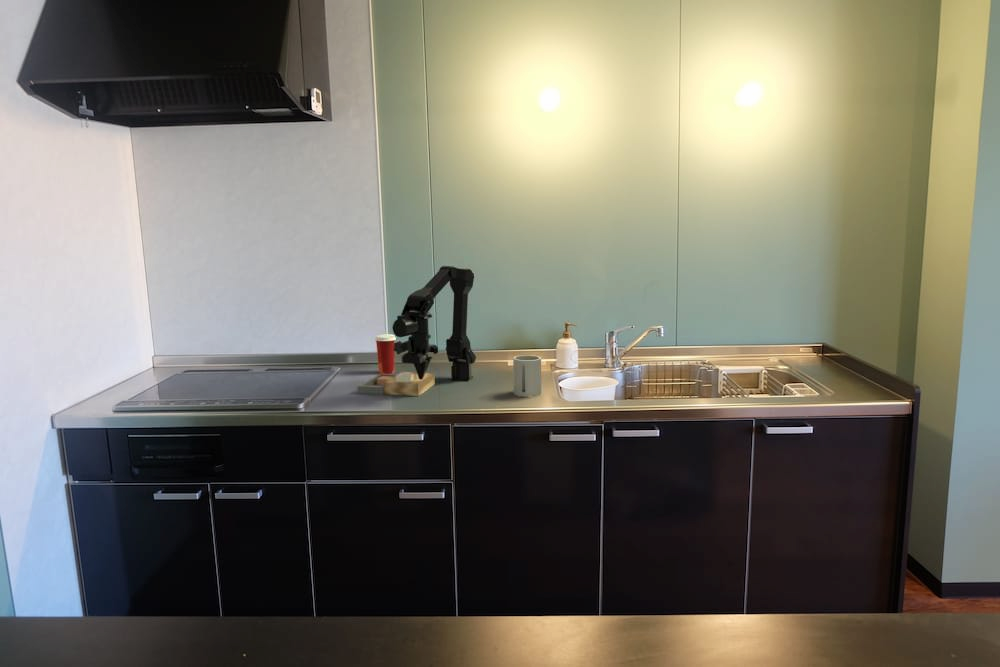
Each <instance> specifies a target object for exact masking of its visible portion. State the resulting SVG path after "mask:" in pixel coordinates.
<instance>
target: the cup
mask: <svg viewBox="0 0 1000 667" xmlns="http://www.w3.org/2000/svg"><path fill="white" fill-rule="evenodd" d="M512 364H513V366H512V370H513V373H512V374H513V375H512V376H513V377H512V378H513V379H512V380H513V382H512V385H513V386H512V387H513V388H512V389H513V390H512V393H514V394H515V395H514V394H513V395H514V396H516V395H518V396H517V397H520V396H526V397H525V398H528V397H527V396H535V397H538V396H537V395H539V396H540V394H542V357H541V356H538V355H531V354H530V355H529V354H526V355H525V354H524V355H522V354H521V355H516V356H513V359H512ZM522 390H525V391H522Z"/></svg>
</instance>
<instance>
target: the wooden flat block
mask: <svg viewBox="0 0 1000 667" xmlns="http://www.w3.org/2000/svg"><path fill="white" fill-rule="evenodd" d="M400 373H409V374H414V380H412V381H411V382H409V383H405V382H396V376H397V375H399V374H400ZM395 375H396V376H394V377H392V378H390V379H389V380H387V381H385V382H384V395H393V396H394V395H395V396H396V395H397V396H411V397H413V396H414V397H420V396H421V395H422V394H423V393H425V392H426V391H427V390H429V389H431V388H432V387H433V386H434V385H435V379H436V378H435V376H436V375H435V372H426V373H425V375H424V378H423V379H419V377H418V374H417V371H416V372H415V371H401V372H399V373H398V374H395Z"/></svg>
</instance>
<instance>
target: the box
mask: <svg viewBox="0 0 1000 667" xmlns="http://www.w3.org/2000/svg"><path fill="white" fill-rule="evenodd" d="M396 375H397V374H392V373H391V374H381V373H379V374H378V375H375V376H373V377H371V378H369V379H368V380H365V381H364V382H363V383H360V384H359V385H357V393H358V394H361V395H363V394H365V395H377V396H379V395H382V396H384V395H385V394H384V385H377V379H378V378H379V377H381V376H390V377H394V376H396Z"/></svg>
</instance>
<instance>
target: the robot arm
mask: <svg viewBox="0 0 1000 667" xmlns="http://www.w3.org/2000/svg"><path fill="white" fill-rule="evenodd" d="M474 280H475V273H474V272H473V271H472V270H471V268H458V267H455V266H454V265H453V266H451V265H442V266H440V268H439V270H438V271H437V272H436V273H435V275H434V276H433V277H431V279H430V280H429V281H428V282H427V283H426V284H425V286H423V287H422V288H420V289H417V290H416V291H415V290H414V291H413V292H412V293H410V294H409V295H408V296H407V298H406V302H405V303H404V307H403V309H402V311H401V313H400V314H399V315H397V316H396V318H397V319H395V321H394V322H393V324H392V331H393V335H395V337H397V338H403V337H407V336H408V338H407V340H406V341H400V340H399V341H395V343H394V346H393V347H394V349H393V350H394V351H395V354H396V356H397V355H401V354H403V353H404V354H403V355H402V356H401V363H402V364H413V365H414V369H415V371H416V372H417V374H418V377H419V379H423V378H424V375H425V373H427V370H428V367H429V365H430V363H431V361H432V359H433V356H429V354H428V353H433V354H434V355H436V354H438V353H439V347H438V346H437V345H436V344H431V343H430V339H431V338H432V337H431V336H432V335H431V334H430V333H429V319H431V318H433V315H432V314H431V313H430V312H429V311H430V310H431V308H432V307H433V305H434V303H435V298H436V296H437V295H438V294H439V293H440V292H441V291H442V290H443V289H444V288H445V286H447V284H449V286H450V289H451V291H452V292H453V306H452V307H453V308H452V310H453V311H452V334H451V336H450V337H449V338H446V341H445V346H446V347H445V351H446V355H447V360H448V363H452V365H451V366H450V371H451V372H450V374H451V379H450V380H451V381H465V382H467V381H470V380H472V378H474V375H473V374H472V370H473V369H472V364H474V363H475V362H476V359H477V356H476V354H475V353H474V352H473V350H472V348H471V341H470V339H469V337H468V335H467V324H468V323H467V321H468V306H469V305H468V299H469V293H470V292H471V290H472V288H473V287H474ZM405 352H406V353H405Z"/></svg>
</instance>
